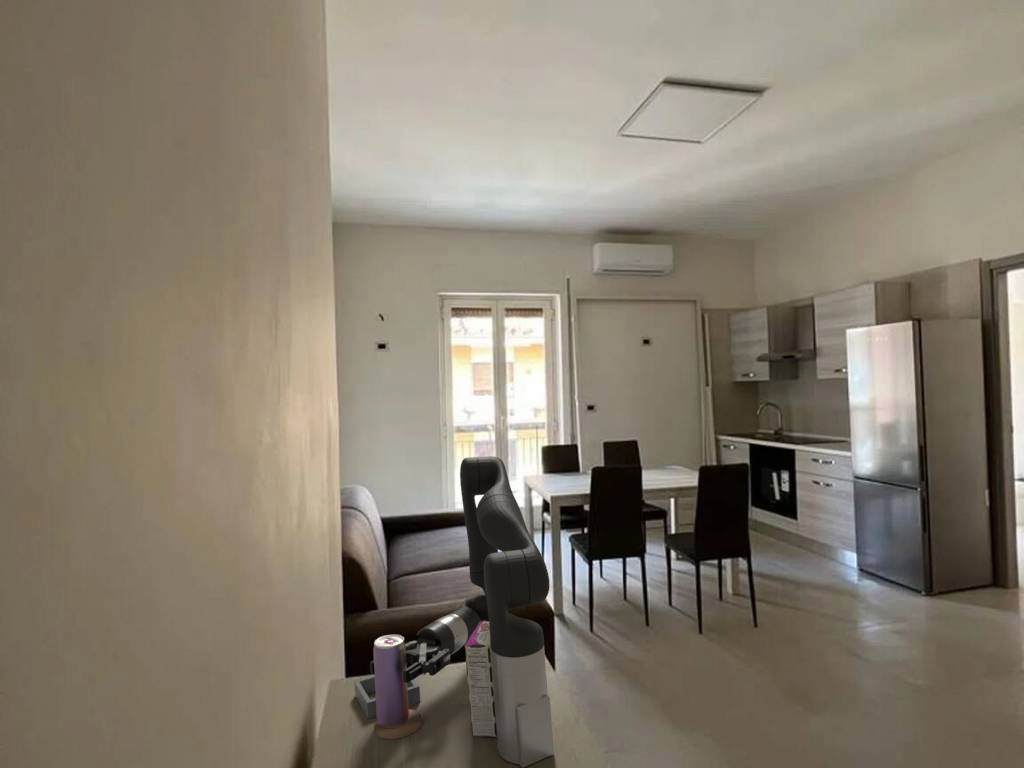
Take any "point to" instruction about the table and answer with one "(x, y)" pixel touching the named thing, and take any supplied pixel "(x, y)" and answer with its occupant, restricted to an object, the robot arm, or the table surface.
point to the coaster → (401, 727)
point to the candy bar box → (481, 682)
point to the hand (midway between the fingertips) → (387, 673)
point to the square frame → (369, 705)
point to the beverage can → (390, 681)
